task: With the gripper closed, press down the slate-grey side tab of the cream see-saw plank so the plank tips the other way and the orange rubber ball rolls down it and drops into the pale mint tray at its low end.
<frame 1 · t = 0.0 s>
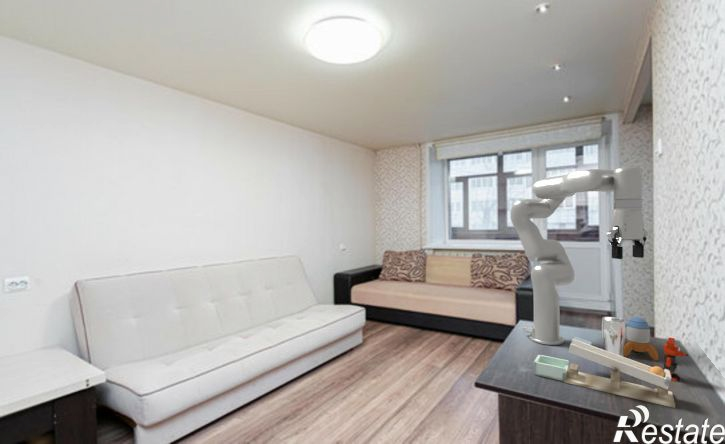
hand: (627, 258, 116), 37 cm above the table, tool pointing down, fingers open, 9 cm apart
stand: (615, 388, 106), on the table
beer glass: (613, 362, 125), on the table
ball: (657, 372, 100), point 7 cm above the table, tilted 9°, touching lever
toy rocket: (641, 357, 129), on the table
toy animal: (676, 379, 112), on the table
tray: (551, 373, 116), on the table
lever: (616, 358, 109), point 7 cm above the table, hinge at 12.3°, touching ball
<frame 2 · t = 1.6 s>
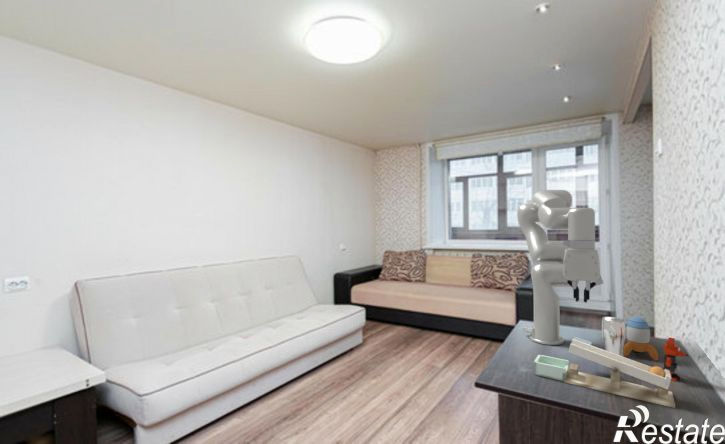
hand: (581, 300, 118), 23 cm above the table, tool pointing down, fingers closed
nothing on the table moved.
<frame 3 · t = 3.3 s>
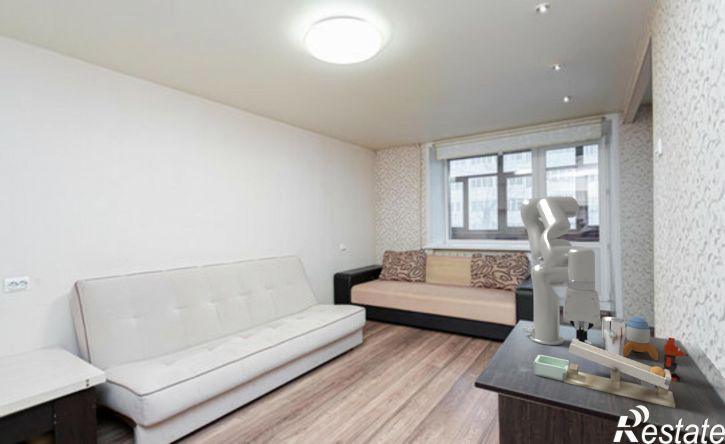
hand: (581, 341, 118), 10 cm above the table, tool pointing down, fingers closed
lever: (616, 358, 109), point 7 cm above the table, hinge at 12.3°, touching ball, gripper
everything else where it was.
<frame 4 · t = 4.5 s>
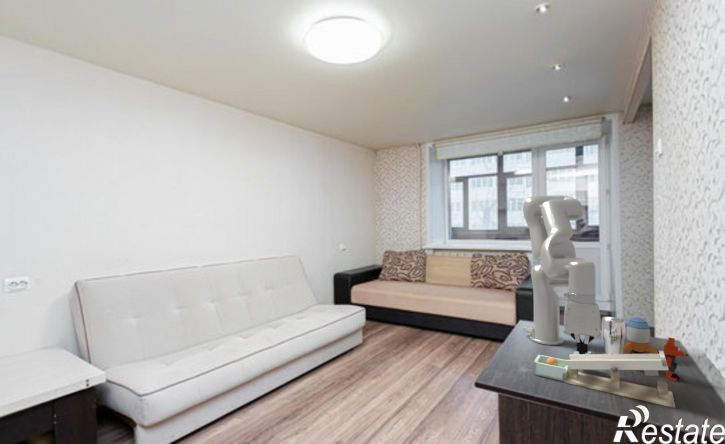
hand: (582, 354, 118), 6 cm above the table, tool pointing down, fingers closed
ball: (552, 362, 116), point 4 cm above the table, tilted 130°
lever: (615, 358, 109), point 7 cm above the table, hinge at -13.1°, touching gripper, stand
everything else where it was.
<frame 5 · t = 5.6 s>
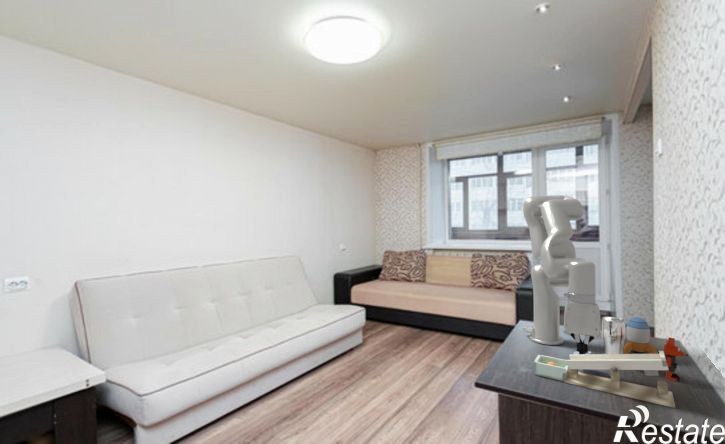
hand: (582, 354, 117), 6 cm above the table, tool pointing down, fingers closed
ball: (552, 367, 116), point 2 cm above the table, tilted 22°, touching tray
everything else where it was.
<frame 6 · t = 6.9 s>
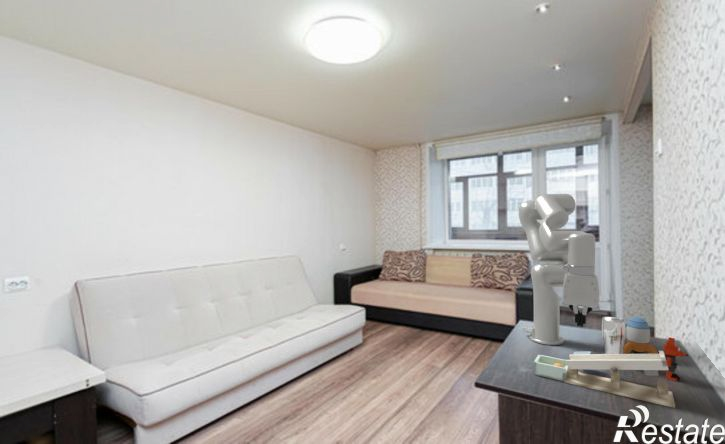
hand: (580, 325, 119), 15 cm above the table, tool pointing down, fingers closed
ball: (558, 368, 115), point 2 cm above the table, tilted 89°, touching tray
lever: (615, 358, 109), point 7 cm above the table, hinge at -13.1°, touching stand
everything else where it was.
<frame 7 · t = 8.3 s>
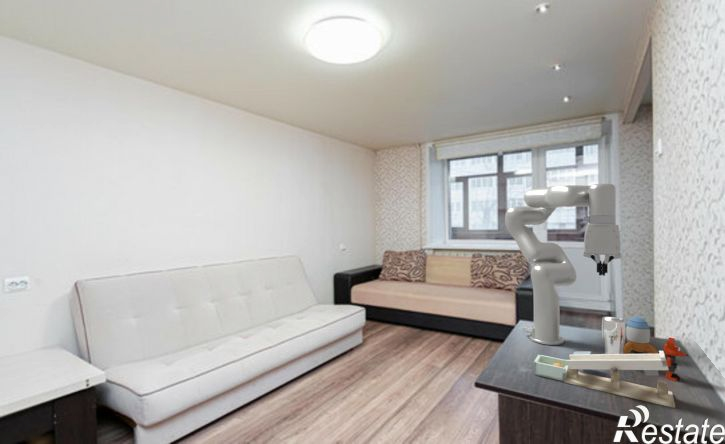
hand: (602, 274, 121), 31 cm above the table, tool pointing down, fingers closed
ball: (558, 368, 115), point 2 cm above the table, tilted 83°, touching tray
everything else where it was.
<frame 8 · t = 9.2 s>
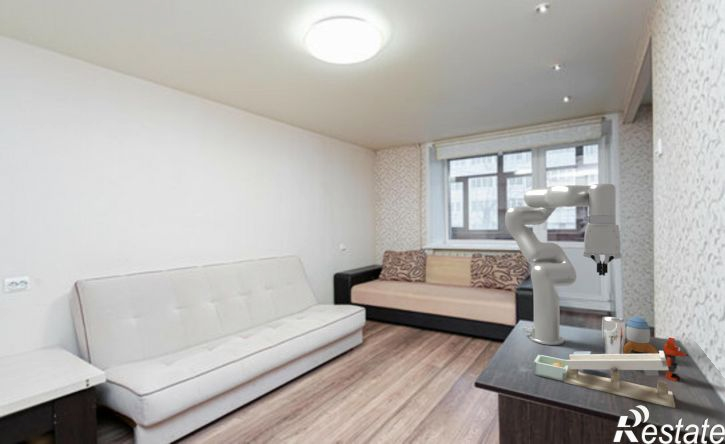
hand: (602, 274, 121), 31 cm above the table, tool pointing down, fingers closed
nothing on the table moved.
at the end: ball inside the target area on the tray (1.8 cm from its centre), point 2.2 cm above the tray's base; ball touching tray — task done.
